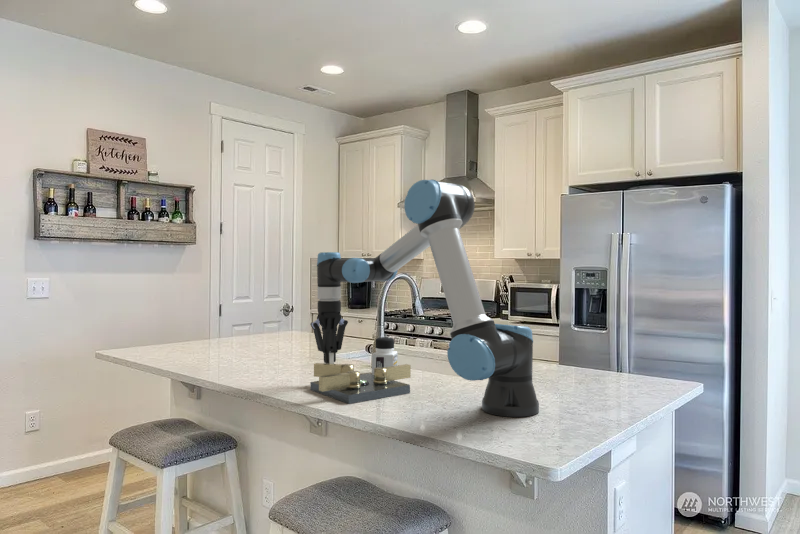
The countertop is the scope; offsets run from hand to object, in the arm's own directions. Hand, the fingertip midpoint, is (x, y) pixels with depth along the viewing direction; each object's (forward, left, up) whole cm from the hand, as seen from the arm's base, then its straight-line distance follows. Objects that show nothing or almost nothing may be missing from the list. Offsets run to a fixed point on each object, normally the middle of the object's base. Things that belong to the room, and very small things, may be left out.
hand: (329, 372), depth 189 cm
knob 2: (-18, -12, -1) cm, 22 cm away
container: (+3, -24, -4) cm, 25 cm away
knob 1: (-18, +7, -1) cm, 19 cm away
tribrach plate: (-14, -2, -4) cm, 15 cm away
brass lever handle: (-4, 0, -1) cm, 4 cm away
